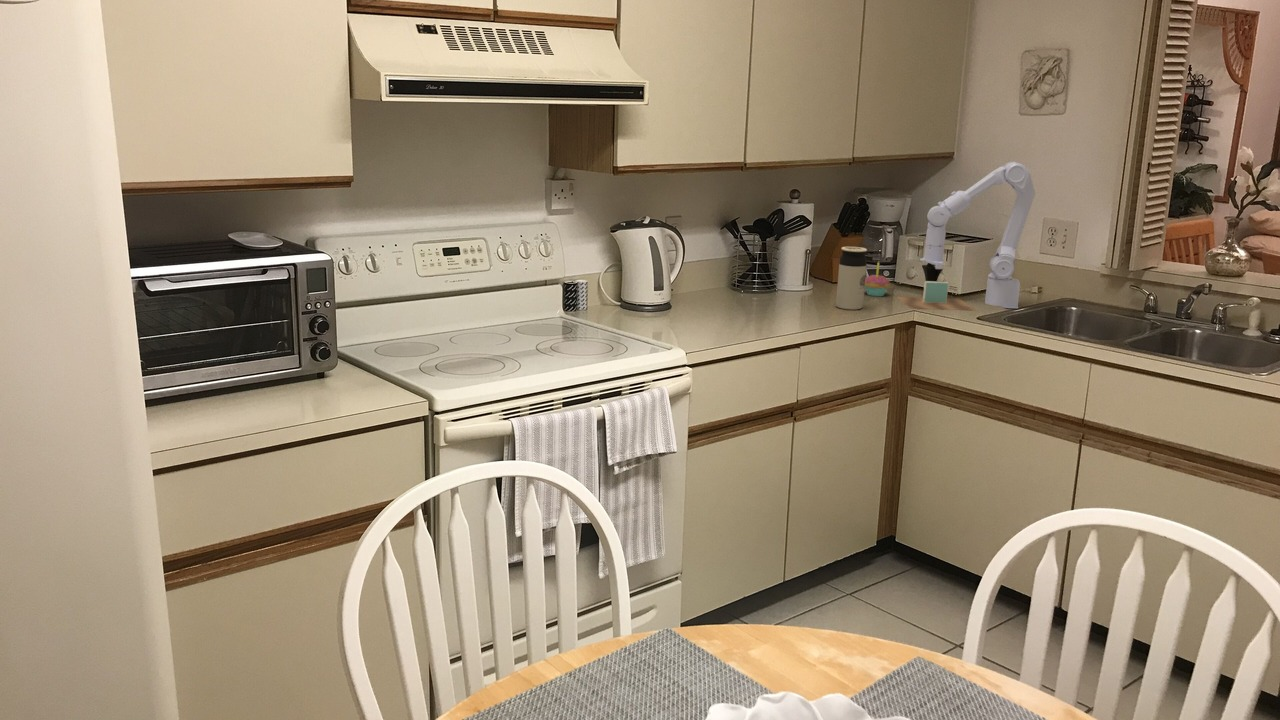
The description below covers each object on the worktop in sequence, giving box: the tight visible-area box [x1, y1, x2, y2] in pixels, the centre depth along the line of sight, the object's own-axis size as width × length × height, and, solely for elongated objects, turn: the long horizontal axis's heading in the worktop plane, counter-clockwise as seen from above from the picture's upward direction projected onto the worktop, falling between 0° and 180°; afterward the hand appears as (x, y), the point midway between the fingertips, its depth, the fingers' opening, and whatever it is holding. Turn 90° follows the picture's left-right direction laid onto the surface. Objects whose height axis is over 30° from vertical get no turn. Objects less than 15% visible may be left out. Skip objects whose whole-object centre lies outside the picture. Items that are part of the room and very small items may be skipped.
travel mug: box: [835, 246, 868, 311], centre depth 305 cm, size 8×8×18 cm
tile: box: [922, 280, 949, 303], centre depth 313 cm, size 7×2×6 cm, turn 90°
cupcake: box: [864, 260, 891, 297], centre depth 323 cm, size 9×8×12 cm
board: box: [896, 296, 978, 312], centre depth 313 cm, size 20×18×1 cm
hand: (930, 288), depth 319 cm, fingers closed
